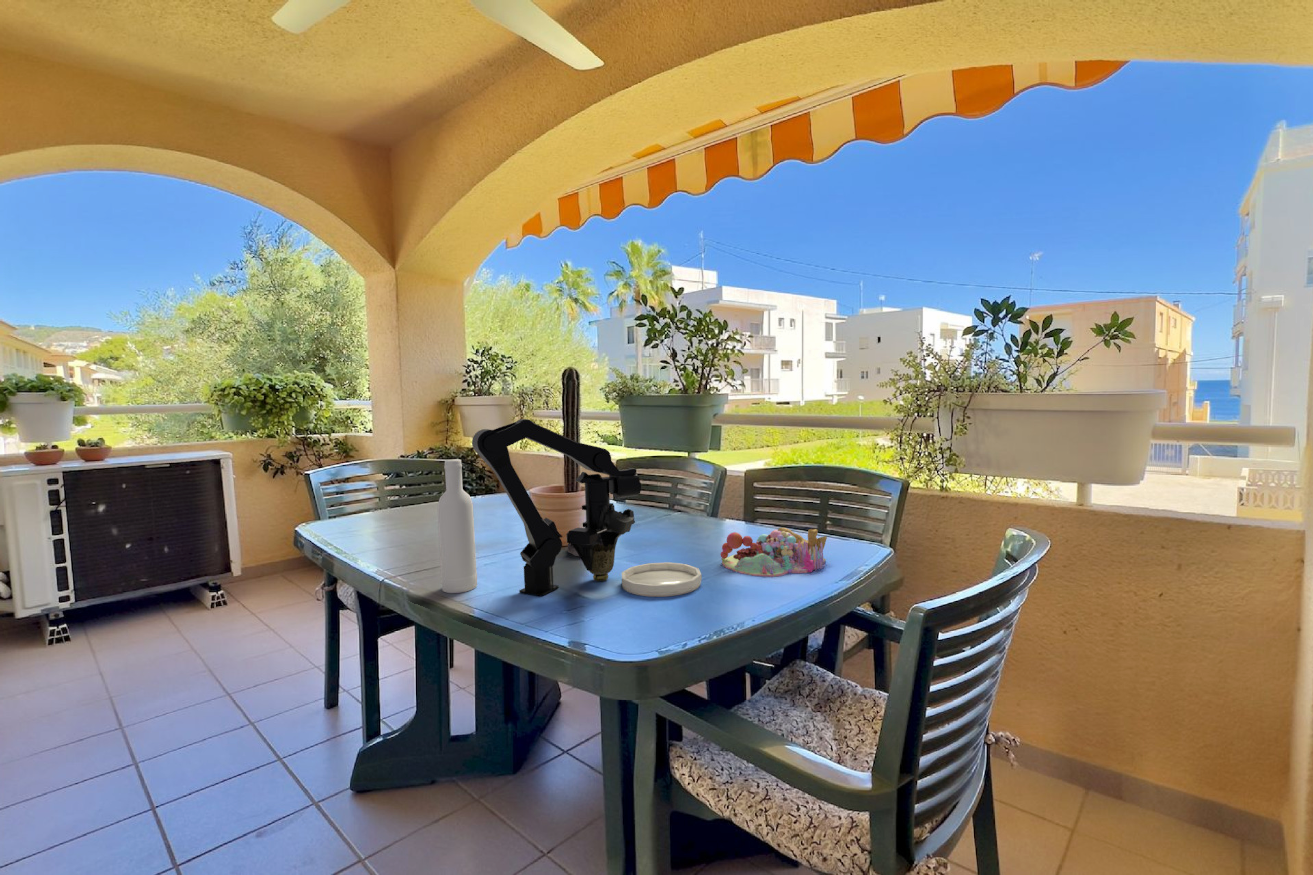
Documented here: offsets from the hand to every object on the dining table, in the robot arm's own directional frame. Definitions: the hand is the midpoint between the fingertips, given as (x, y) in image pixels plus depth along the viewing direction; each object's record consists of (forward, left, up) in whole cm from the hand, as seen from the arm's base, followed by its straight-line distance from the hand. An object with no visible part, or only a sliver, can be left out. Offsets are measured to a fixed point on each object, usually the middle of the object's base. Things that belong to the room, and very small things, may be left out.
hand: (599, 565), depth 143 cm
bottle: (-17, +28, -4) cm, 33 cm away
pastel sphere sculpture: (+28, -35, -4) cm, 45 cm away
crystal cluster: (+23, +17, -4) cm, 29 cm away
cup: (0, 0, -4) cm, 4 cm away
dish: (+2, -15, -4) cm, 16 cm away
